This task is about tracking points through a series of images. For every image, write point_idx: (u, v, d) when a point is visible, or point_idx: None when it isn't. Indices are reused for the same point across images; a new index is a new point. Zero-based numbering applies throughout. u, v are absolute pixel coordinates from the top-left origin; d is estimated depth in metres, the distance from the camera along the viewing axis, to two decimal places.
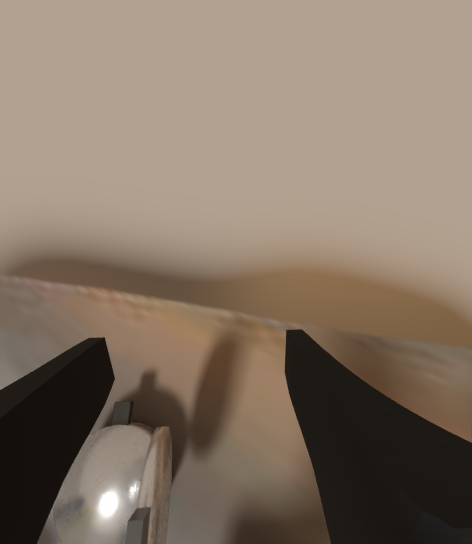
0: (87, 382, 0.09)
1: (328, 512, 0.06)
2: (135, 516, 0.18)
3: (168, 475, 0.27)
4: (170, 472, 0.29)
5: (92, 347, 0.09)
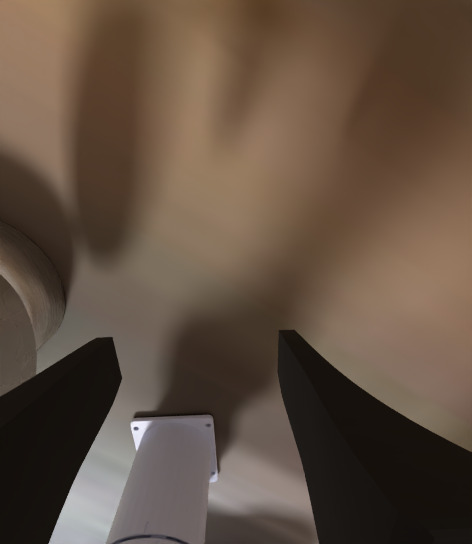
0: (96, 382, 0.09)
1: (316, 512, 0.06)
2: None
3: None
4: (8, 309, 0.14)
5: (100, 347, 0.09)
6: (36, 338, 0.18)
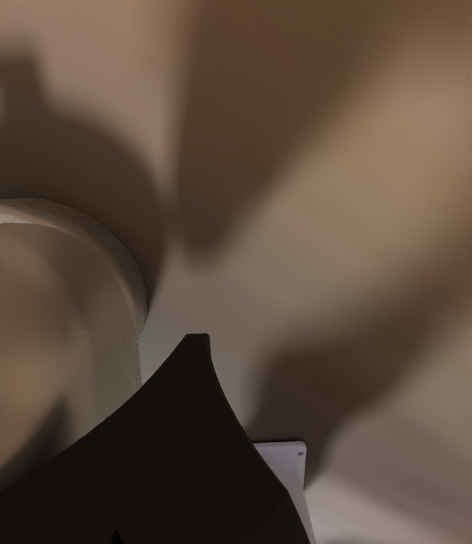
0: None
1: None
2: None
3: (107, 348, 0.09)
4: (122, 325, 0.10)
5: (199, 343, 0.09)
6: None
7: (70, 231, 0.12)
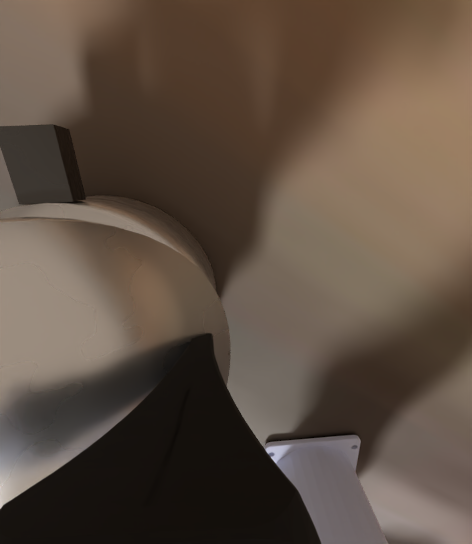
0: None
1: None
2: None
3: (170, 349, 0.09)
4: (206, 329, 0.10)
5: (210, 342, 0.09)
6: None
7: (165, 229, 0.12)
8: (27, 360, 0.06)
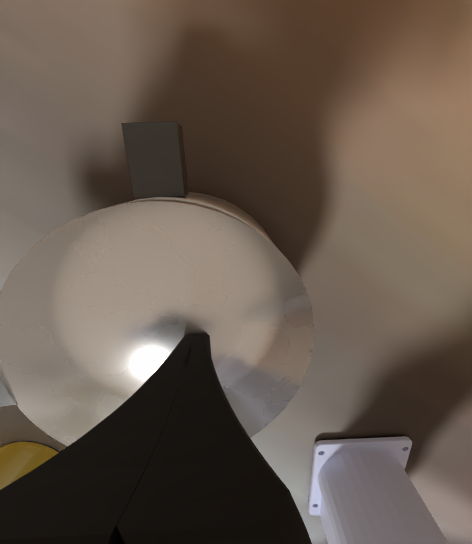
0: None
1: None
2: None
3: (248, 321, 0.10)
4: (287, 318, 0.10)
5: (198, 343, 0.09)
6: None
7: (255, 224, 0.12)
8: (152, 290, 0.09)
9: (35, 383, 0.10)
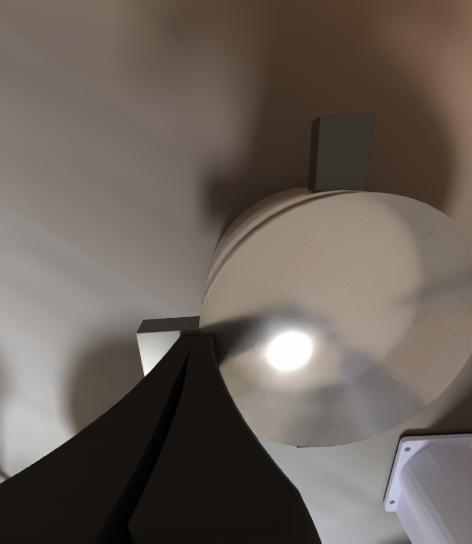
0: None
1: None
2: (159, 322, 0.10)
3: (424, 311, 0.10)
4: (461, 310, 0.10)
5: (194, 343, 0.09)
6: None
7: None
8: (345, 277, 0.10)
9: (224, 360, 0.10)
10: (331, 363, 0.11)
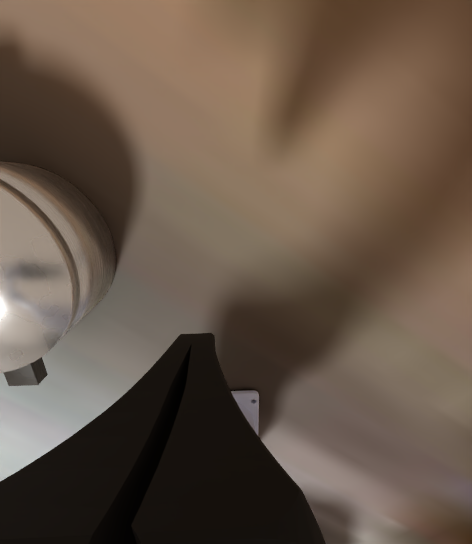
0: None
1: None
2: None
3: (4, 255, 0.13)
4: (37, 255, 0.13)
5: (192, 343, 0.09)
6: (92, 298, 0.17)
7: (45, 186, 0.15)
8: None
9: None
10: None
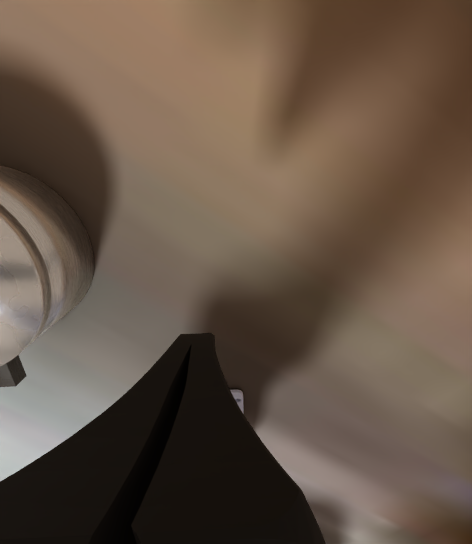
0: None
1: None
2: None
3: None
4: (4, 255, 0.13)
5: (192, 343, 0.09)
6: (68, 298, 0.17)
7: (15, 187, 0.15)
8: None
9: None
10: None
